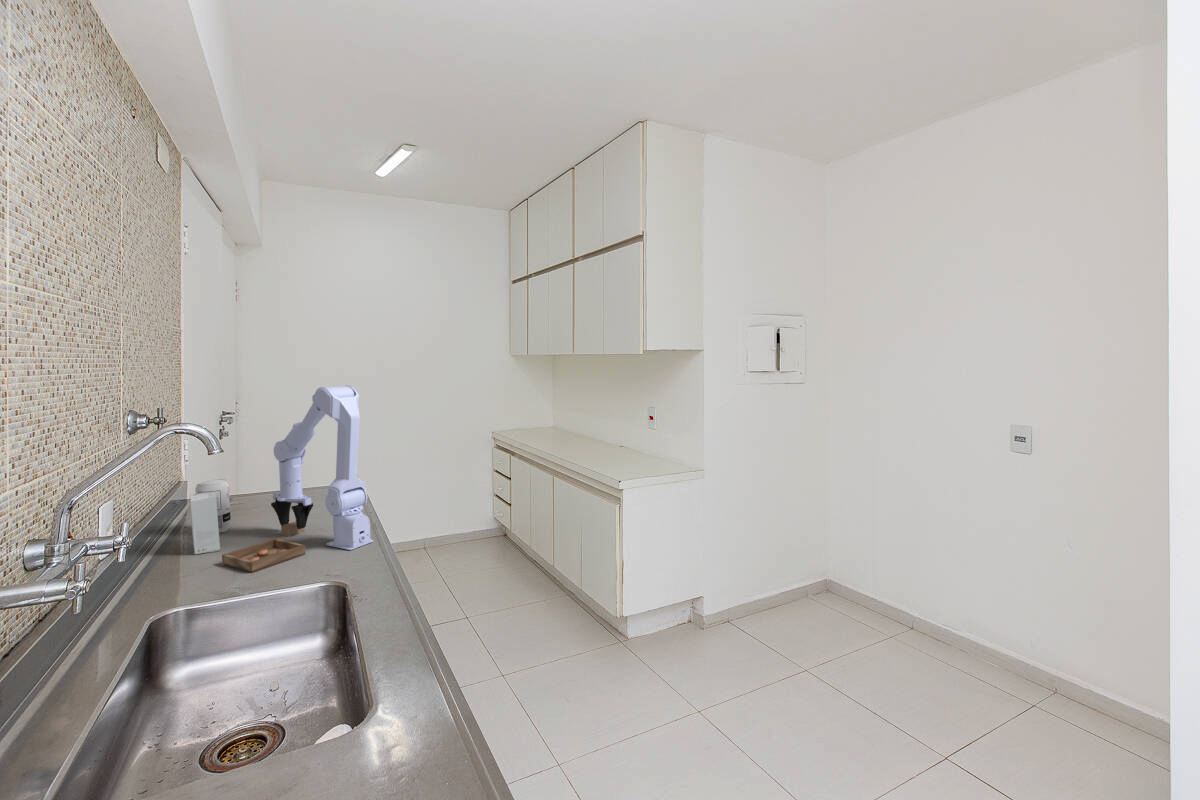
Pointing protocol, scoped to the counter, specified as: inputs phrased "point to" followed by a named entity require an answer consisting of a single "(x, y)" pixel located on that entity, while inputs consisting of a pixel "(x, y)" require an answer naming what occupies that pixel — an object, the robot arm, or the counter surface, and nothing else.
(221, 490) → the supplement can
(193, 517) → the skincare box
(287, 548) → the box
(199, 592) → the counter surface
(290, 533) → the lid
